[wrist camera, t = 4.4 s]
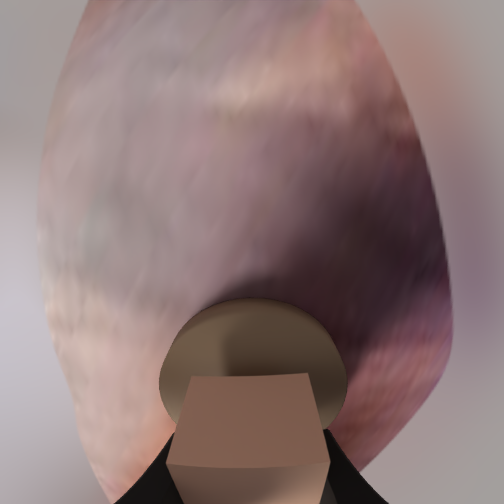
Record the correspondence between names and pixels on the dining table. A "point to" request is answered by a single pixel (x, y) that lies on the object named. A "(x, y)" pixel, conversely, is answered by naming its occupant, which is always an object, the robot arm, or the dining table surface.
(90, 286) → the dining table surface
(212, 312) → the olive round dish
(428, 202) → the dining table surface
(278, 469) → the tan block
